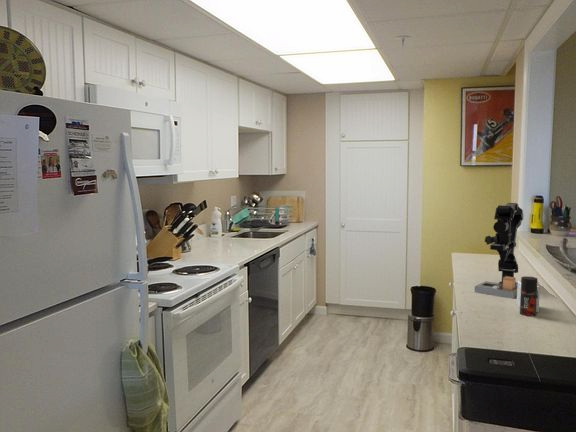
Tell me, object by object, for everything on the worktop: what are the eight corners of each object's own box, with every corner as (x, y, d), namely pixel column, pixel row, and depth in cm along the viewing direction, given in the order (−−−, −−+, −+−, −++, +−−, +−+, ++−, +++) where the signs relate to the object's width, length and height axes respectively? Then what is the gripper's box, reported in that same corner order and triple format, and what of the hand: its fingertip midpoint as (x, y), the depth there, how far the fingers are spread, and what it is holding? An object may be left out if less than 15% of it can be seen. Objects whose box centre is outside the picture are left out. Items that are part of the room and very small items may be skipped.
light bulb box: (539, 312, 212) (540, 286, 211) (521, 311, 213) (522, 286, 212) (532, 305, 222) (533, 281, 221) (515, 304, 223) (516, 280, 222)
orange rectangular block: (505, 292, 245) (506, 276, 244) (514, 294, 242) (515, 277, 241) (502, 294, 242) (503, 277, 241) (511, 295, 239) (512, 278, 238)
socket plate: (485, 287, 256) (486, 279, 256) (523, 293, 244) (523, 285, 244) (474, 292, 246) (474, 284, 246) (513, 298, 234) (513, 290, 233)
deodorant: (535, 313, 211) (537, 277, 209) (536, 317, 205) (538, 280, 204) (519, 311, 213) (521, 276, 211) (520, 315, 207) (521, 278, 206)
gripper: (494, 228, 263) (493, 258, 264) (480, 231, 249) (478, 263, 250) (517, 229, 255) (515, 260, 257) (503, 233, 241) (502, 266, 243)
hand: (502, 262), depth 252 cm, fingers closed
